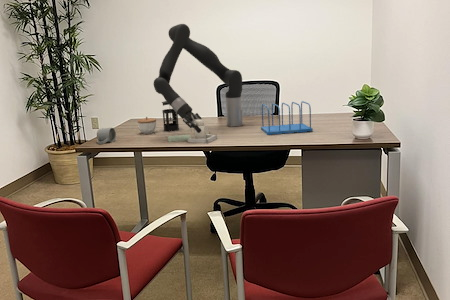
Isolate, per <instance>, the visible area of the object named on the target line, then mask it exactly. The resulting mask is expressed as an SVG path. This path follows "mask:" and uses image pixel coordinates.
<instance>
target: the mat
mask: <svg viewBox="0 0 450 300" xmlns="http://www.w3.org/2000/svg"><path fill="white" fill-rule="evenodd" d="M188 138H192V137H191V134H182V135H181V134H177V135H169V136H168V137H167V139H168V140H167V142H168V143H169V142H170V143H171V142H183V141H184V142H185V141H187V142H188Z"/></svg>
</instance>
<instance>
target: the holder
mask: <svg viewBox="0 0 450 300" xmlns="http://www.w3.org/2000/svg"><path fill="white" fill-rule="evenodd" d="M217 139H218V136H217V134H206V139H197V138H195V137H191V138H188V140H187V143H193V144H194V143H195V144H209V143H211V142H213V141H216V140H217Z"/></svg>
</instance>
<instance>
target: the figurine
mask: <svg viewBox="0 0 450 300" xmlns="http://www.w3.org/2000/svg"><path fill="white" fill-rule="evenodd" d="M204 121H205V120H204V118H202V119H195V123H196V125H197V126H198V127H199V128H200V129H201V132H200V133H198V132H197V131H196V130H195V129H194V128H193V130H194V138H197V139H206V134H207V135H210V127H209V124H205V122H204Z"/></svg>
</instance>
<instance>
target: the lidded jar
mask: <svg viewBox="0 0 450 300" xmlns="http://www.w3.org/2000/svg"><path fill="white" fill-rule="evenodd" d="M137 126H138V130H139V131H140V132H141V133H142V135H143V134H145V135H149V134H153V133H154V132H155V130H156V128H157V119H156V118H154V117H153V118H152V117H148V116H146V117H145V118H140V119H137Z"/></svg>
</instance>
